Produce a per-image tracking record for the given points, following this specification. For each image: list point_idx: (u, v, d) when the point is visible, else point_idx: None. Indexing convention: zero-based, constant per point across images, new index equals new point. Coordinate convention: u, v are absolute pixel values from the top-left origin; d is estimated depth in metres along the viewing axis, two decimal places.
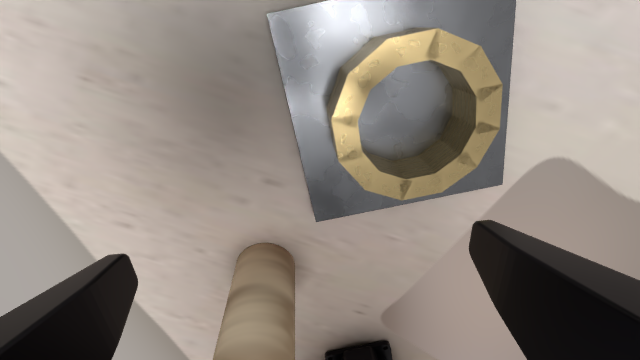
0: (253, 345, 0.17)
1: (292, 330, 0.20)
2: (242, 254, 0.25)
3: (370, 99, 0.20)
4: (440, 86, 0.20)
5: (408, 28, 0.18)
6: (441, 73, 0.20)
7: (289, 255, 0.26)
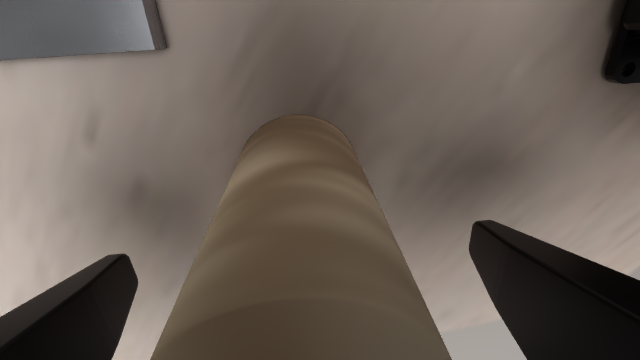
0: None
1: (274, 212, 0.06)
2: None
3: None
4: None
5: None
6: None
7: (269, 123, 0.12)
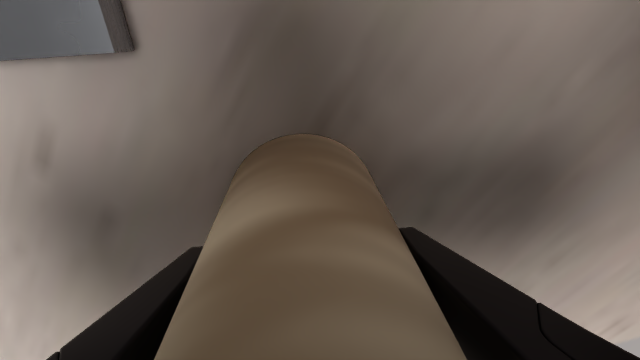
0: None
1: (271, 329, 0.03)
2: None
3: None
4: None
5: None
6: None
7: (267, 145, 0.09)
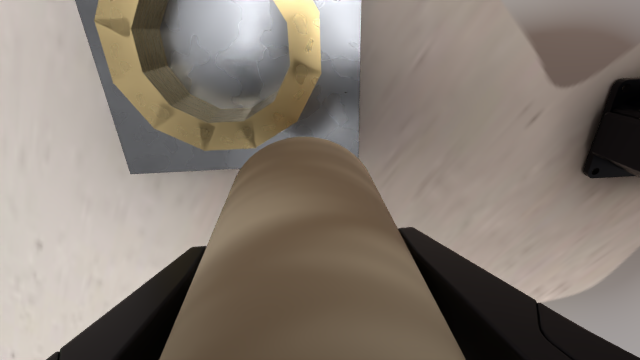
0: None
1: (275, 336, 0.03)
2: None
3: (211, 83, 0.17)
4: None
5: None
6: None
7: (268, 148, 0.09)
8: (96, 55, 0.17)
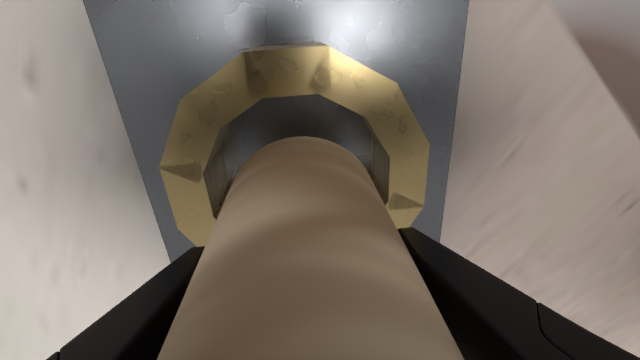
0: None
1: (272, 336, 0.03)
2: None
3: None
4: (267, 102, 0.13)
5: None
6: None
7: (267, 147, 0.09)
8: (146, 175, 0.14)
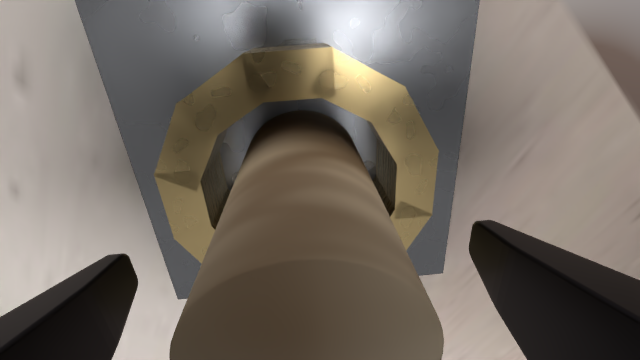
0: (176, 354, 0.05)
1: (285, 194, 0.06)
2: None
3: None
4: (267, 106, 0.13)
5: None
6: None
7: (275, 118, 0.12)
8: (142, 181, 0.14)
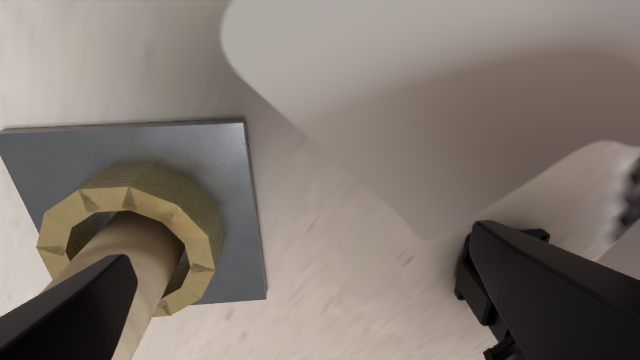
0: None
1: None
2: None
3: None
4: None
5: None
6: None
7: None
8: None
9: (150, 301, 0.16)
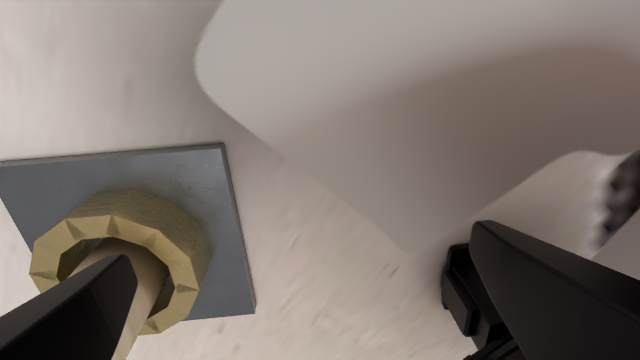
0: None
1: None
2: None
3: None
4: None
5: None
6: None
7: None
8: None
9: (133, 324, 0.17)
